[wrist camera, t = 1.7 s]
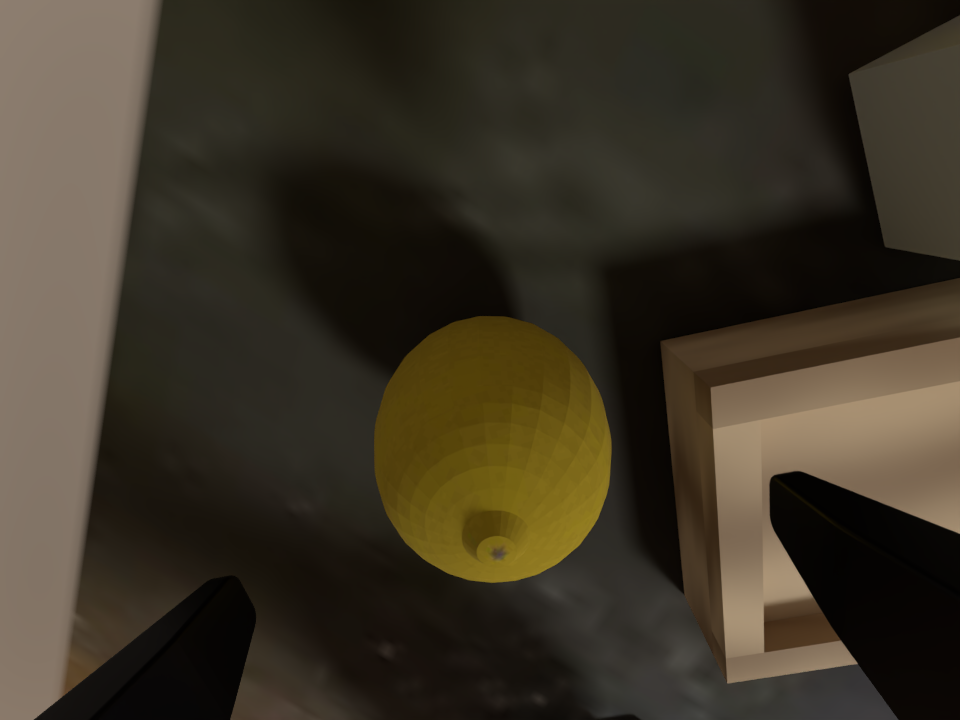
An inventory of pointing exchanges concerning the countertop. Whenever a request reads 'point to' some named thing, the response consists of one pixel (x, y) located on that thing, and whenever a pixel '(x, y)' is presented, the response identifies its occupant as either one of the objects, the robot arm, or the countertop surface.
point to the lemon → (492, 449)
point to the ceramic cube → (914, 140)
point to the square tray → (805, 454)
